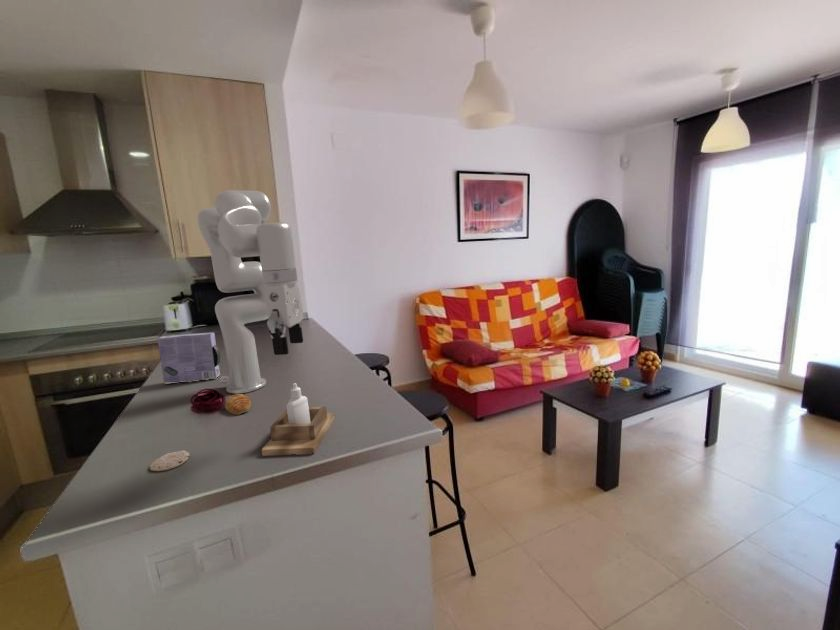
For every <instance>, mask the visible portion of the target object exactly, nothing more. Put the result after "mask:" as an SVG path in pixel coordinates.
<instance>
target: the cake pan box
mask: <svg viewBox="0 0 840 630" xmlns="http://www.w3.org/2000/svg"><path fill="white" fill-rule="evenodd" d="M216 342H217V341H216V335H215V332H214V331H213V332H203V333H187V334H176V335H174V334H173V335H164V336H163V335H162V336H160V337H158V338H157V345H158V352H159V358H160V364H161V370H162V377H163V384H164V383H165V382H180V381H193V380H206V379H215V378H217V377H218V376H219V375H220V376H221V372H220V362H221V351H220V350H219V349H220V348H219V347H218V346H217V343H216ZM218 378H219V377H218ZM218 378H217V379H218ZM206 381H207V380H206Z"/></svg>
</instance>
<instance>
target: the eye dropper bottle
mask: <svg viewBox="0 0 840 630" xmlns="http://www.w3.org/2000/svg"><path fill="white" fill-rule="evenodd" d="M292 385H293V386H292V388H290V391H289V392H290V396H291V398H290V399H289V400H288V402H287V404H286V409H287V414H288V421H289V424H306V423H311V421H310V414H309V407H310V406H309V402H308V401H309V400H308V397H307V396H305V395H302V389H301V387H299V386H298V385H297V383H296V382H294V383H293V384H292Z"/></svg>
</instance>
